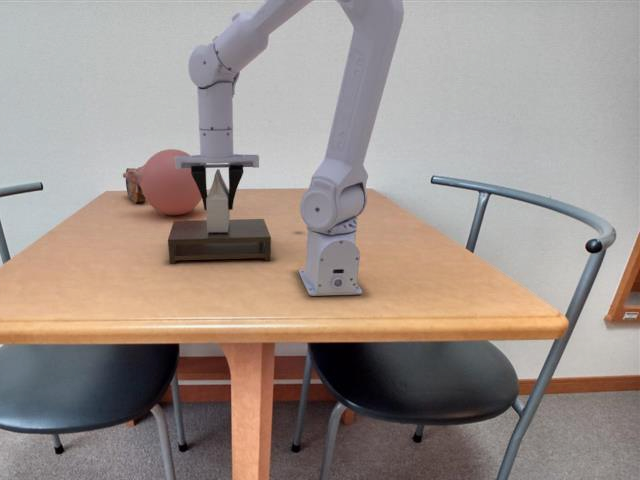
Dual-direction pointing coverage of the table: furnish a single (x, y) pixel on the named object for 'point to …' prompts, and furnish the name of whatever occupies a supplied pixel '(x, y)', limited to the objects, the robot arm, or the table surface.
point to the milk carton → (218, 205)
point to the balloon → (166, 183)
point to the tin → (134, 191)
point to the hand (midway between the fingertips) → (218, 208)
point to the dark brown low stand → (219, 241)
